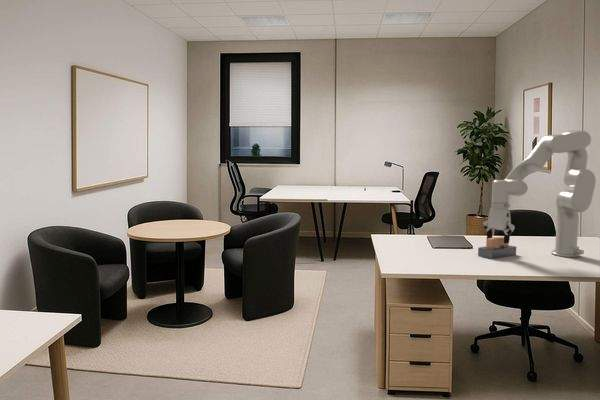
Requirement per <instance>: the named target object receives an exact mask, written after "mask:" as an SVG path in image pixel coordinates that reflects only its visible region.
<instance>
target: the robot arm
mask: <svg viewBox="0 0 600 400" xmlns="http://www.w3.org/2000/svg"><path fill="white" fill-rule="evenodd" d="M591 142H592V137H591V135H590V133H589V132H588V131H585V130H566V131H564V132H562V133H561V134H546V135H544V136H543V137H541V139H540V140H539V141H538V143H537V144H536V145H535V146H534V148H533V149H532V150H531V152H530V153H529V154H528V156H527V157H526V158H525V159H524V160H522V161H521V162H520V163H519V164H518V165H516V166H515V167H513V169H512V170H511V171H510V172H509V173H508V175H507V176H506V177H505V179H494V180H493V181H492V184H491V186H492V187H491V202H490V203H491V204H490V206H491V207H490V208H489V212H488V216H487V219H486V220H485V221H483V222H482V224H483V226H484V229H485V232H486V239H487V238H493V230H497V231H503V233H504V235H503V236H504V243H509V244H510V240H511V239H510V237H511V234H512V233H513V232H514V230H515V228H516V226H515V225H514V224H512V223H511V222H512V219H511V211H510V209H509V208H510V206H511V205H510V204H509V198H510V197H509V196H516V197H521V196H524V195H525V194H526V193H527V192H528V191H529V190H528V184H527V183H526V182H525V181H524V180H525V178H527V177H528V176H530V175H532V174H535V173H537V172H539V171H541V170H542V169H543V168H544V166H545V165H546V164H547V162H548V161H549V160H550V158H551V157H552V156H553V155H554V154H565V153H567V162H566V167H565V172H564V176H563V182H564V185H565V186H567V187H569V188H573V189H572V190H571V189H564V190H562V191H560V192H559V193H558V194H557V196H556V199H555V203H556V204H555V205H556V229H555V230H556V231H555V249H553V250H551V255H554V256H557V257H564V258H579V257H580V256H581V255H582V256H583V255H584V253H585V250H583V249H580V246H578V238H579V237H578V234H579V222H580V220H579V219H580V218H579V213H583V212H585V211H588V209H589V208H590V206H591V204H592V200H593V196H594V191H595V188H596V182H597V180H596V175H595V174H594V172H593V171H592V170H590V169H588V168H587V166H588V160H589V159H588V151H587V149H586V148H587V147H588V146H590V144H591Z"/></svg>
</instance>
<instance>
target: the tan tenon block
mask: <svg viewBox="0 0 600 400" xmlns="http://www.w3.org/2000/svg"><path fill="white" fill-rule="evenodd" d="M485 243H486V244H485V247H486V246H487V248H488V249H495V246H501V247H508V245H510V242H509V243H504V235H501V236H496V237H492V238H487V237H486V242H485Z"/></svg>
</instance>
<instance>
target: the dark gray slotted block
mask: <svg viewBox="0 0 600 400" xmlns="http://www.w3.org/2000/svg"><path fill="white" fill-rule="evenodd" d="M516 255H517V246H514V245H510V244H508V247H501V246H495V249H488V248H487V246H486V245H485V246H480V247H478V249H477V256H478V257H481V258H487V259H491V260H492V259H499V258H505V257H511V256H512V257H513V256H516Z"/></svg>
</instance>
